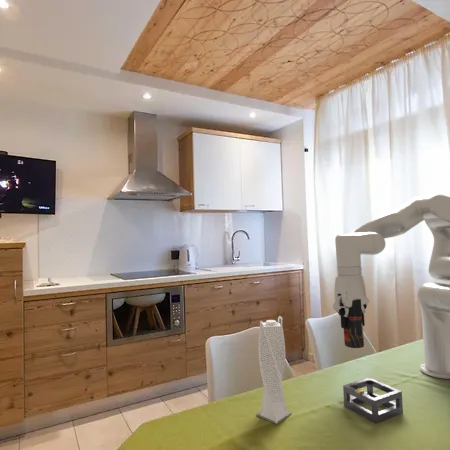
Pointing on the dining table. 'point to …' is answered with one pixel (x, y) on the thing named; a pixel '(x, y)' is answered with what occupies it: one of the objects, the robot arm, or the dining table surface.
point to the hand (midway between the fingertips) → (352, 326)
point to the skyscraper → (272, 371)
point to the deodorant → (354, 326)
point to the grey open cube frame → (373, 400)
